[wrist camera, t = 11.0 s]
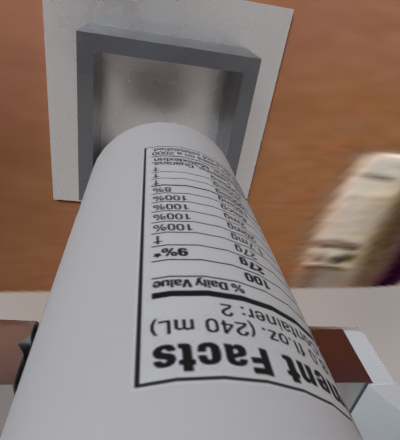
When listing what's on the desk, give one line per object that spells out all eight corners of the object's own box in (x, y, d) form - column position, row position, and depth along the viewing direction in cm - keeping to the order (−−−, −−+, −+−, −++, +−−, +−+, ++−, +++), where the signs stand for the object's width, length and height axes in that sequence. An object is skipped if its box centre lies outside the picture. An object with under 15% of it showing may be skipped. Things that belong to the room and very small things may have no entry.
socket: (45, -36, 20) (17, -41, 16) (288, 8, 23) (319, 14, 18) (56, 192, 27) (39, 230, 23) (240, 207, 30) (255, 244, 26)
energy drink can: (62, 170, 16) (-321, 909, 3) (177, 84, 15) (381, 700, 2) (151, 260, 19) (152, 837, 6) (253, 194, 17) (544, 738, 5)
